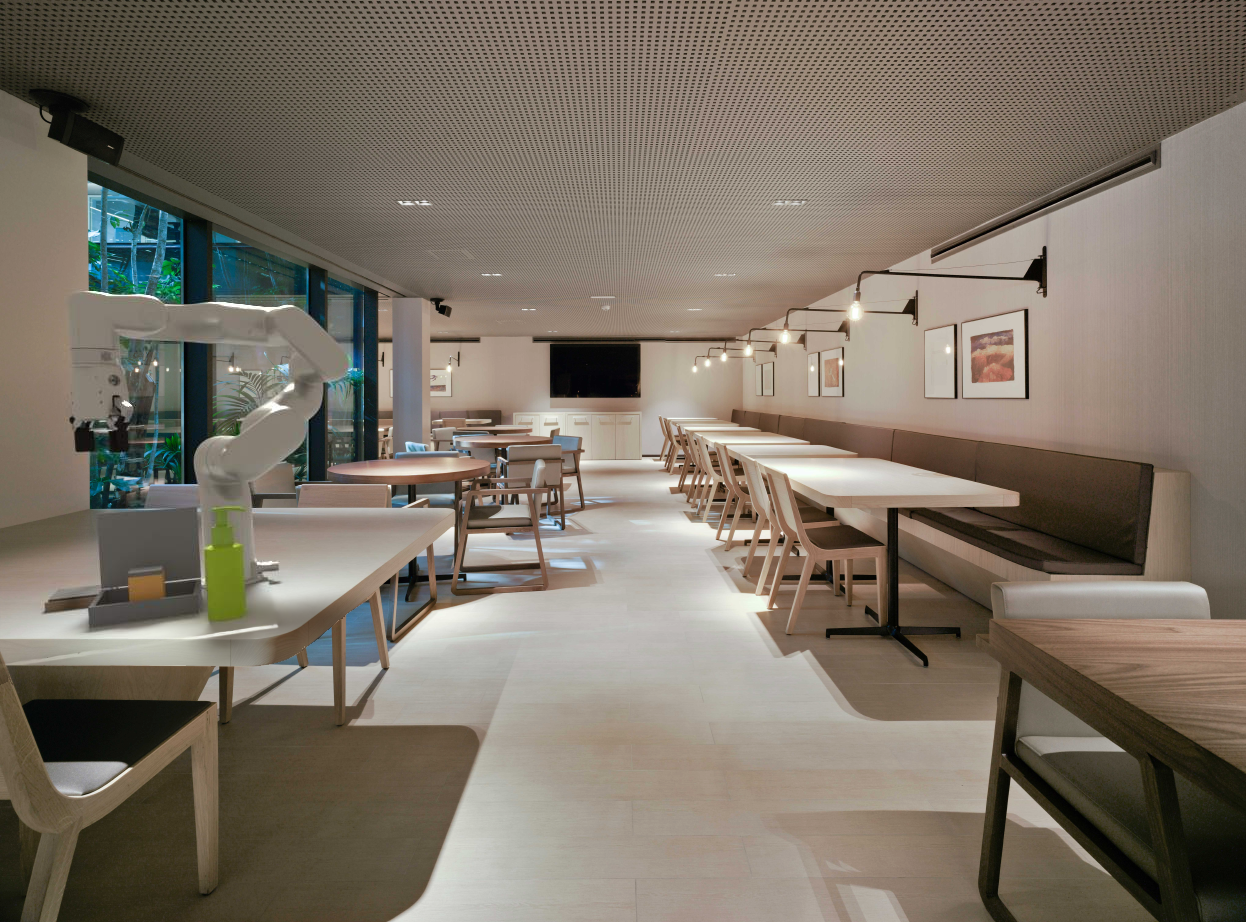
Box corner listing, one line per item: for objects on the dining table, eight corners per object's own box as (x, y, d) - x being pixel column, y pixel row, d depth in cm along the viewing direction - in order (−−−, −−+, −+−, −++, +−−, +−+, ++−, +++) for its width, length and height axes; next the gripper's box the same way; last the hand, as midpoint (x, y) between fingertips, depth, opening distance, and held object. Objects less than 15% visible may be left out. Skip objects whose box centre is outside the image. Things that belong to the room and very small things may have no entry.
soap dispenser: (249, 621, 124) (242, 508, 123) (204, 625, 122) (197, 510, 121) (256, 612, 130) (249, 503, 128) (213, 616, 128) (206, 506, 126)
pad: (118, 594, 144) (118, 582, 144) (111, 606, 136) (110, 593, 136) (57, 602, 140) (56, 589, 139) (45, 614, 131) (44, 600, 131)
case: (202, 598, 140) (201, 578, 140) (199, 616, 128) (198, 594, 128) (102, 611, 133) (101, 590, 132) (89, 631, 120) (87, 607, 120)
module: (166, 607, 132) (163, 564, 132) (164, 613, 128) (161, 569, 127) (134, 611, 130) (131, 568, 129) (130, 618, 126) (127, 573, 125)
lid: (200, 577, 140) (201, 576, 141) (196, 506, 140) (197, 506, 141) (101, 588, 132) (102, 588, 134) (96, 513, 132) (98, 513, 134)
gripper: (147, 359, 132) (153, 451, 134) (87, 363, 139) (93, 450, 140) (105, 356, 125) (111, 453, 127) (44, 360, 132) (50, 452, 133)
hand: (102, 452), depth 133 cm, fingers open, 9 cm apart
